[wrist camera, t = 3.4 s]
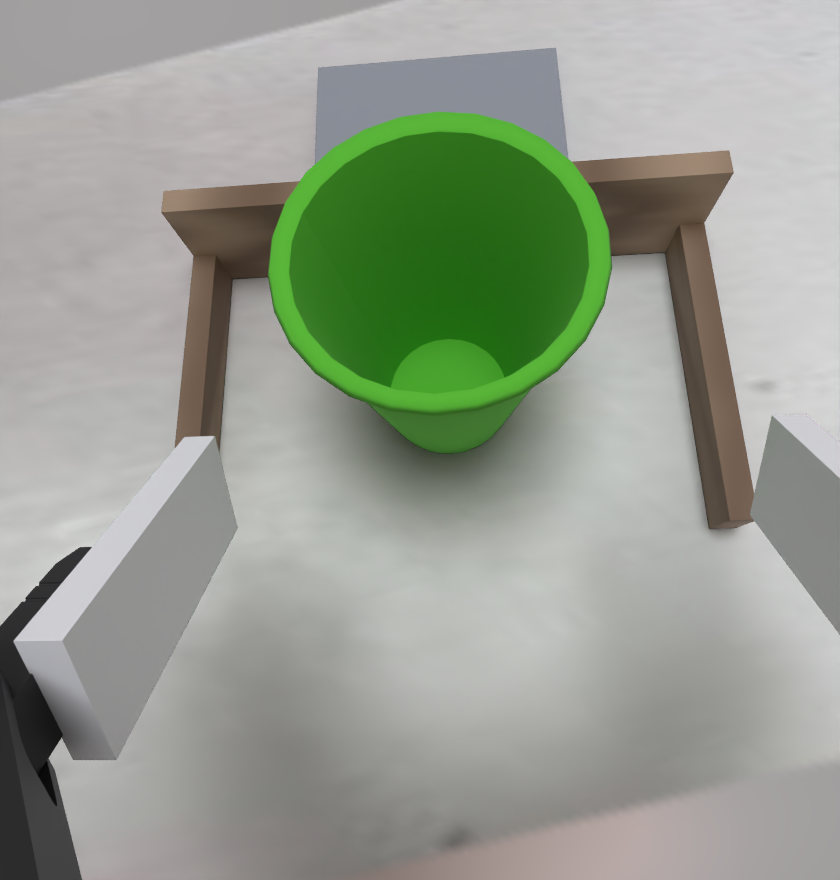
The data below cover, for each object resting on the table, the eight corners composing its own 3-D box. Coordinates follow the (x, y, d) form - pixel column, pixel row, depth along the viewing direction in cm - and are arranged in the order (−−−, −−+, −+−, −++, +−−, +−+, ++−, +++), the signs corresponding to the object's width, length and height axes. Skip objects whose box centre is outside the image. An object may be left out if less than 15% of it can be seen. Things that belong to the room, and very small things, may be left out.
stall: (188, 545, 25) (123, 527, 21) (213, 261, 29) (163, 191, 25) (735, 527, 24) (802, 503, 19) (684, 231, 28) (729, 150, 23)
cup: (513, 533, 25) (548, 464, 14) (311, 455, 26) (206, 342, 16) (582, 340, 27) (657, 156, 16) (392, 280, 28) (347, 76, 18)
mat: (316, 246, 29) (312, 236, 28) (321, 80, 32) (318, 67, 31) (572, 229, 28) (574, 218, 28) (553, 61, 31) (555, 47, 31)
